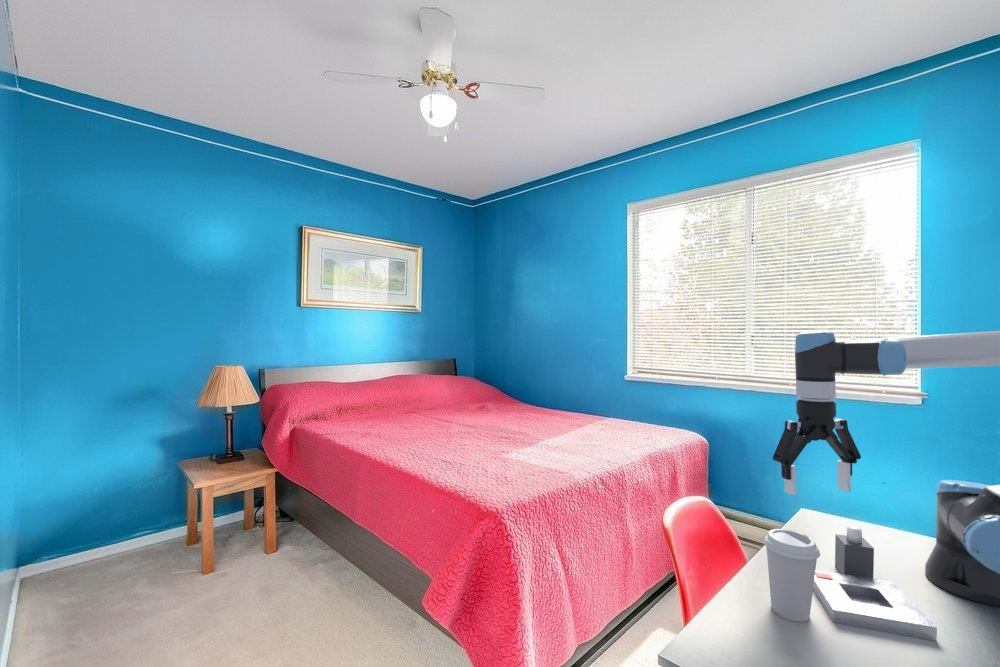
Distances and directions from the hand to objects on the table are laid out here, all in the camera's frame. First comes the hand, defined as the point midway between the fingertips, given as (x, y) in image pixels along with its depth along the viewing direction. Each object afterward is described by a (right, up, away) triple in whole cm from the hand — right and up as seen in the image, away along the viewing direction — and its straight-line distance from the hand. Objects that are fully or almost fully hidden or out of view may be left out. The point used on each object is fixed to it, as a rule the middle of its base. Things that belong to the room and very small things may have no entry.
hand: (817, 491), depth 104 cm
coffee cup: (-15, -20, -13) cm, 28 cm away
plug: (+9, -20, +1) cm, 22 cm away
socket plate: (+2, -20, -11) cm, 23 cm away
